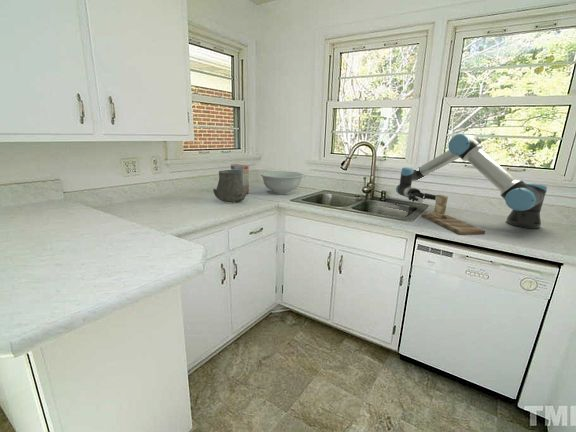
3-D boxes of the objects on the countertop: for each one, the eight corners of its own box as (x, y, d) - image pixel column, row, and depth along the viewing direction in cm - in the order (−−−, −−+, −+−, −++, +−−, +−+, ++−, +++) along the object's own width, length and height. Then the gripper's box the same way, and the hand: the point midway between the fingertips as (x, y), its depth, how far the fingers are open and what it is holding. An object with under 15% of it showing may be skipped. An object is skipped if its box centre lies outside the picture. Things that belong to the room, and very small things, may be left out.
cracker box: (249, 193, 216) (249, 165, 210) (242, 194, 212) (242, 166, 206) (237, 190, 225) (236, 163, 219) (230, 191, 221) (230, 164, 215)
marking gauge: (437, 213, 172) (441, 194, 169) (450, 219, 162) (454, 198, 158) (429, 213, 171) (433, 194, 168) (442, 219, 161) (446, 198, 158)
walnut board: (420, 215, 173) (421, 213, 172) (442, 215, 175) (442, 212, 174) (459, 234, 142) (460, 231, 142) (484, 233, 145) (485, 230, 144)
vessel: (225, 207, 178) (224, 174, 172) (209, 200, 193) (207, 170, 188) (254, 202, 191) (254, 172, 186) (237, 196, 207) (236, 168, 202)
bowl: (260, 188, 238) (260, 170, 234) (299, 188, 242) (300, 171, 237) (261, 197, 207) (261, 176, 203) (305, 197, 211) (306, 177, 207)
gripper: (428, 198, 195) (450, 206, 175) (394, 199, 191) (412, 207, 171) (430, 187, 193) (452, 194, 173) (395, 187, 189) (414, 194, 169)
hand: (432, 201), depth 172 cm, fingers open, 13 cm apart
